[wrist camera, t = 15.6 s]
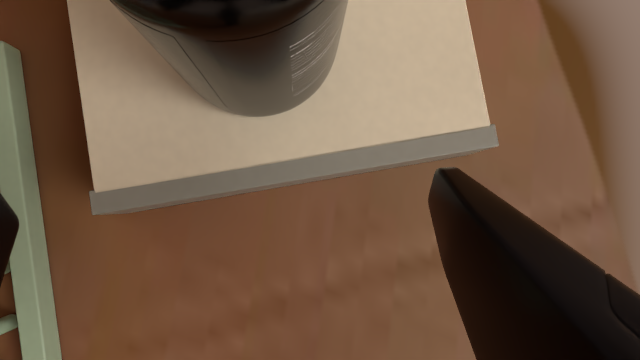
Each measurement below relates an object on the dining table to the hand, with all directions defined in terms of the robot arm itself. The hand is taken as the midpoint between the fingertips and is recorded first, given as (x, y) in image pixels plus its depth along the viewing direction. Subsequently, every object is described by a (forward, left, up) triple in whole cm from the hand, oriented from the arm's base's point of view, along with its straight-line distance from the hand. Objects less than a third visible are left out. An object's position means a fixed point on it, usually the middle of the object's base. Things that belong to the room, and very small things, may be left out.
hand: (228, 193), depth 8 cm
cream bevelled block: (+6, -2, -11) cm, 13 cm away
